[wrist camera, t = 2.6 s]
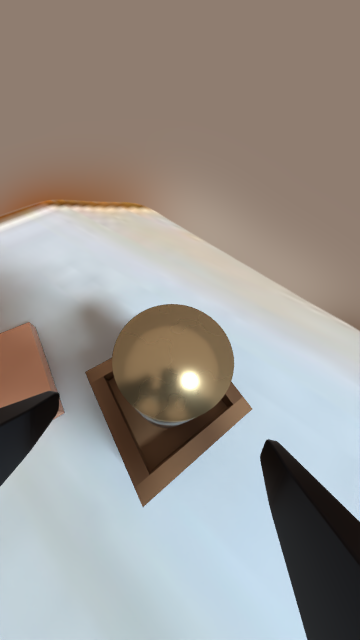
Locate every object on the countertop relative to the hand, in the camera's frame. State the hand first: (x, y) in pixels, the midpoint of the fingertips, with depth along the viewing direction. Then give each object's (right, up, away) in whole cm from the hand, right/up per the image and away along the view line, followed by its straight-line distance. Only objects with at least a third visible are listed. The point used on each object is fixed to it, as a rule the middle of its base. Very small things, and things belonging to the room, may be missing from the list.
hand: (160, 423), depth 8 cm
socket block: (0, -3, +10) cm, 10 cm away
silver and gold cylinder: (0, -2, +7) cm, 7 cm away
